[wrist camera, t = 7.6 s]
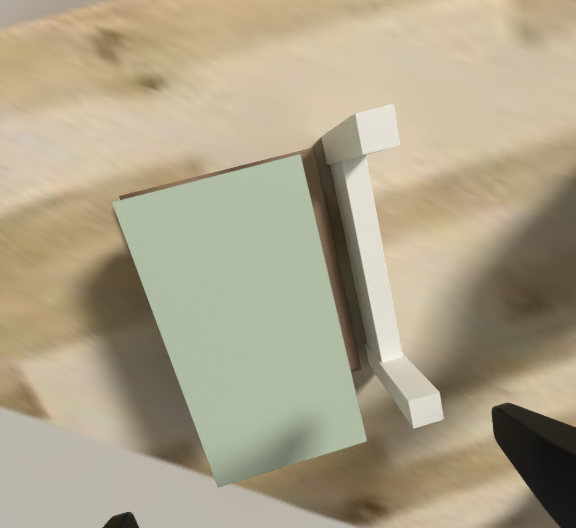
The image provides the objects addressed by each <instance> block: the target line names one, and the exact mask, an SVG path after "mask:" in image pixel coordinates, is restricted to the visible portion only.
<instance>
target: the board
mask: <svg viewBox="0 0 576 528" xmlns="http://www.w3.org/2000/svg"><path fill="white" fill-rule="evenodd" d="M112 204H113V207H114V209H115V212H116V215H117V217H118V220H119V223H120V225H121V228H122V231H123V234H124V236H125V239H126V242H127V244H128V247H129V250H130V252H131V255H132V258H133V260H134V263H135V266H136V268H137V271H138V274H139V277H140V279H141V282H142V285H143V287H144V290H145V293H146V295H147V298H148V301H149V303H150V306H151V309H152V311H153V314H154V317H155V320H156V322H157V325H158V328H159V330H160V333H161V336H162V338H163V341H164V344H165V346H166V349H167V352H168V355H169V357H170V360H171V363H172V365H173V368H174V371H175V373H176V376H177V379H178V381H179V384H180V387H181V389H182V392H183V395H184V398H185V400H186V403H187V406H188V408H189V411H190V414H191V416H192V419H193V422H194V424H195V427H196V430H197V433H198V435H199V438H200V441H201V443H202V446H203V449H204V451H205V454H206V457H207V459H208V462H209V465H210V467H211V470H212V473H213V476H214V478H215V481H216V484H217V486H218V487H220V486H224V485H227V484H230V483H234V482H237V481H240V480H243V479H247V478H250V477H253V476H256V475H260V474H263V473H266V472H269V471H272V470H276V469H279V468H282V467H285V466H289V465H292V464H295V463H298V462H302V461H305V460H308V459H311V458H315V457H318V456H321V455H324V454H328V453H331V452H334V451H337V450H340V449H344V448H347V447H350V446H353V445H357V444H360V443H363V442H366V441H367V439H366V435H365V430H364V426H363V422H362V417H361V413H360V409H359V404H358V400H357V396H356V392H355V387H354V383H353V379H352V374H351V370H350V366H349V361H348V357H347V353H346V348H345V344H344V340H343V336H342V331H341V327H340V323H339V318H338V314H337V310H336V305H335V301H334V297H333V293H332V288H331V284H330V280H329V275H328V271H327V267H326V262H325V258H324V254H323V249H322V245H321V241H320V237H319V232H318V228H317V224H316V219H315V215H314V211H313V206H312V202H311V198H310V193H309V189H308V185H307V181H306V176H305V172H304V168H303V163H302V159H301V155H300V154H299V155H295V156H291V157H287V158H283V159H280V160H276V161H272V162H268V163H264V164H260V165H256V166H252V167H248V168H244V169H241V170H237V171H233V172H229V173H225V174H221V175H217V176H213V177H209V178H205V179H202V180H198V181H194V182H190V183H186V184H182V185H178V186H174V187H170V188H166V189H163V190H159V191H155V192H151V193H147V194H143V195H139V196H135V197H131V198H127V199H124V200H120V201H116V202H112Z"/></svg>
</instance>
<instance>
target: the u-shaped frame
mask: <svg viewBox="0 0 576 528" xmlns="http://www.w3.org/2000/svg"><path fill="white" fill-rule="evenodd" d="M321 139H322V143H323V148H324V153H325V158H326V162H327V165H330V168H331V173H332V178H333V183H334V188H335V192H336V197H337V202H338V207H339V212H340V216H341V221H342V226H343V231H344V235H345V240H346V245H347V250H348V255H349V259H350V264H351V269H352V274H353V279H354V283H355V288H356V293H357V298H358V303H359V307H360V312H361V317H362V322H363V326H364V331H365V336H366V341H367V343H365V348H366V352H367V357H368V362H369V365H370V367H371V368H372V369H373V371H374V372H375V374H376V375H377V377H378V378H379V380H380V381H381V382H382V384H383V385H384V387H385V388H386V390H387V391H388V393H389V394H390V395H391V397H392V398H393V400H394V401H395V403H396V404H397V406H398V407H399V408H400V410H401V411H402V413H403V414H404V416H405V417H406V419H407V420H408V421H409V423H410V424H411V426H412V427H413V429H415V428H418V427H421V426H424V425H428V424H431V423H434V422H438V421H441V420H444V417H443V411H442V404H441V398H440V392H439V391H438V390H437V389H436V388H435V387H434V386H433V385H432V384H431V383H430V381H429V380H428V379H427V378H426V377H425V376H424V375H423V374H422V373H421V372H420V371H419V370H418V369H417V368H416V367H415V366H414V365H413V363H412V362H411V361H410V360H409V359H408V358H407V357H406V356H405V355H404V354H403V353H402V350H401V344H400V339H399V333H398V328H397V323H396V317H395V312H394V306H393V301H392V295H391V290H390V284H389V279H388V273H387V268H386V262H385V257H384V252H383V246H382V241H381V235H380V230H379V224H378V219H377V213H376V208H375V202H374V197H373V191H372V186H371V180H370V175H369V170H368V164H367V159H366V155H368V154H371V153H375V152H378V151H382V150H385V149H389V148H393V147H396V146H400V140H399V133H398V127H397V121H396V115H395V108H394V104H391V105H387V106H383V107H379V108H375V109H371V110H367V111H363V112H359V113H355V114H354V115H352V116H351V117H349V118H348V119H346V120H345V121H343V122H342V123H341V124H339V125H338V126H336V127H335V128H333V129H332V130H330V131H329V132H328V133H326V134H325V135H323V136H322V137H321Z"/></svg>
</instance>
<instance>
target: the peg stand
mask: <svg viewBox="0 0 576 528" xmlns="http://www.w3.org/2000/svg"><path fill="white" fill-rule="evenodd" d="M299 154H300V155H301V159H302V163H303V168H304V172H305V176H306V181H307V185H308V189H309V193H310V198H311V202H312V206H313V211H314V215H315V219H316V224H317V228H318V232H319V237H320V241H321V245H322V249H323V254H324V258H325V262H326V267H327V271H328V275H329V280H330V284H331V288H332V293H333V297H334V301H335V305H336V310H337V314H338V318H339V323H340V327H341V331H342V336H343V340H344V344H345V348H346V353H347V357H348V361H349V366H350V370H351V372H353V371H356V370H359V369H361V365H360V360H359V356H358V351H357V347H356V342H355V337H354V333H353V328H352V324H351V319H350V314H349V310H348V305H347V301H346V296H345V291H344V287H343V282H342V278H341V273H340V268H339V264H338V259H337V255H336V250H335V245H334V241H333V236H332V232H331V227H330V222H329V218H328V213H327V209H326V204H325V199H324V195H323V190H322V186H321V181H320V176H319V172H318V167H317V163H316V158H315V153H314V149H313V148H310V149H306V150H302V151H298V152H294V153H290V154H286V155H282V156H278V157H274V158H270V159H266V160H262V161H258V162H254V163H250V164H246V165H242V166H238V167H234V168H230V169H226V170H222V171H218V172H214V173H210V174H206V175H202V176H198V177H194V178H190V179H186V180H182V181H178V182H174V183H170V184H166V185H162V186H158V187H154V188H150V189H146V190H142V191H138V192H134V193H130V194H126V195H122V196H119V197H120V200H124V199H127V198H131V197H135V196H139V195H143V194H147V193H151V192H155V191H159V190H163V189H166V188H170V187H174V186H178V185H182V184H186V183H190V182H194V181H198V180H202V179H205V178H209V177H213V176H217V175H221V174H225V173H229V172H233V171H237V170H241V169H244V168H248V167H252V166H256V165H260V164H264V163H268V162H272V161H276V160H280V159H283V158H287V157H291V156H295V155H299Z"/></svg>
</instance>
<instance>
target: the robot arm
mask: <svg viewBox="0 0 576 528" xmlns="http://www.w3.org/2000/svg"><path fill="white" fill-rule="evenodd" d="M492 422H493V432H494V436H495V439H496V441H497V443H498V445H499V446H500V448H501V449H502V450H503V452H504V453H505V455H506V456H507V457H508V459H509V460H510V462H511V463H512V464H513V466H514V467H515V469H516V470H517V471H518V473H519V474H520V476H521V477H522V478H523V480H524V481H525V483H526V484H527V485H528V487H529V488H530V490H531V491H532V492H533V494H534V495H535V496H536V498H537V499H538V500H539V502H540V503H541V504H542V506H543V507H544V508H545V510H546V511H547V512H548V513H549V514H550V516H551V517H552V518H553V519H554V521H555V522H556V523H557V524H558V525H559V526H560V528H576V427H573V426H571V425H568V424H565V423H563V422H560V421H557V420H554V419H552V418H549V417H546V416H544V415H541V414H538V413H536V412H533V411H530V410H528V409H525V408H522V407H520V406H517V405H514V404H511V403H504V404H500V405H497V406H494V407H493V408H492ZM103 528H139V526H138V524H137V522H136V520H135V517H134V515H133V514H132V513H131V512H126V513H122V514H119V515H115V516H113V517H112V518H111V519H110V520H109V521H108V522H107V523H106V524H105V525H104V527H103Z"/></svg>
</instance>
